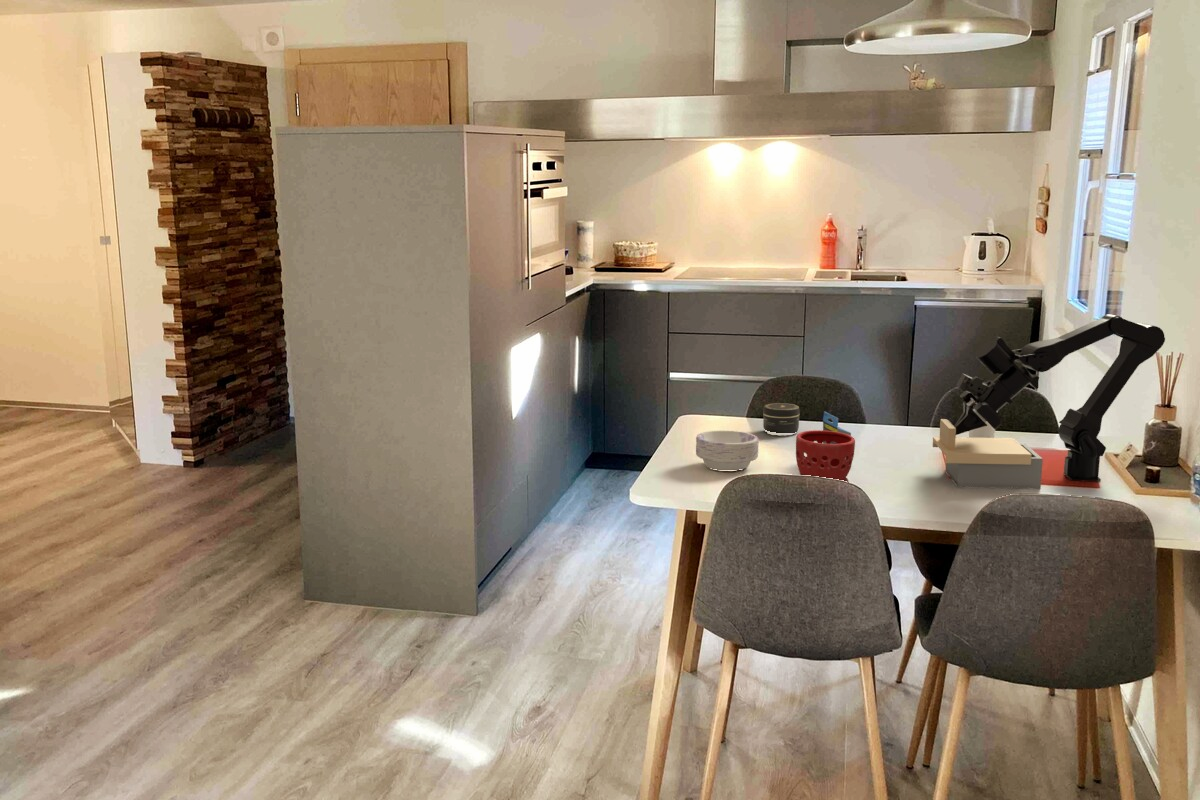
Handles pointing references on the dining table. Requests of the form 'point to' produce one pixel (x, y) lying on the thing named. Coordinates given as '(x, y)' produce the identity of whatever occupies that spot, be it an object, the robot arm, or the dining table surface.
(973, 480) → the box
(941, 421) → the lid
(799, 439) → the plant pot
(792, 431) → the jar
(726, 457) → the paper bowls
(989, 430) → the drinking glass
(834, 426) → the label tape box
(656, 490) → the dining table surface
